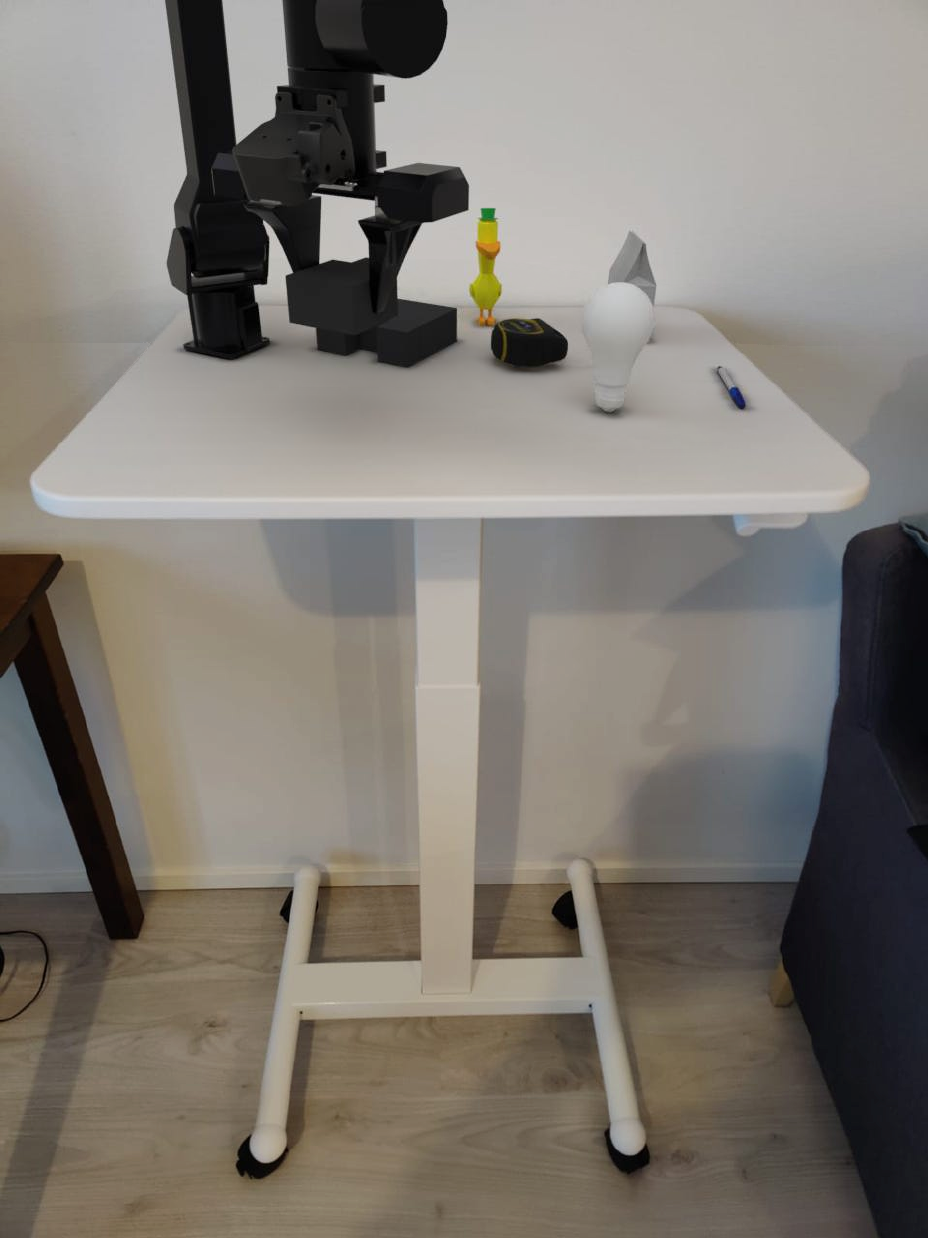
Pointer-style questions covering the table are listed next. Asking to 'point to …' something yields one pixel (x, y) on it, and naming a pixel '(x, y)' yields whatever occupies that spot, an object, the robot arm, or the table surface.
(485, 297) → the toy figure
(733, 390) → the blue marker pen
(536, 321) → the tape measure
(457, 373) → the table surface
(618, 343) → the lightbulb
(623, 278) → the grey faceted shape
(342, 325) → the pad
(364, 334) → the notch pad
